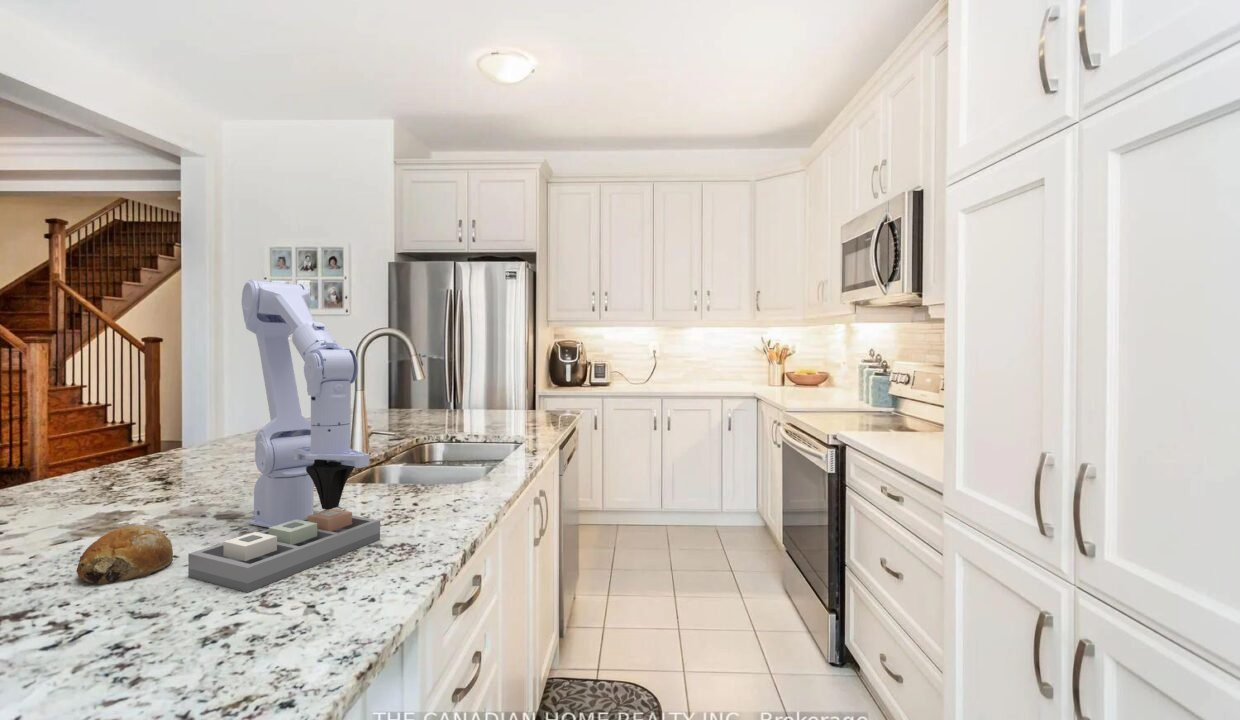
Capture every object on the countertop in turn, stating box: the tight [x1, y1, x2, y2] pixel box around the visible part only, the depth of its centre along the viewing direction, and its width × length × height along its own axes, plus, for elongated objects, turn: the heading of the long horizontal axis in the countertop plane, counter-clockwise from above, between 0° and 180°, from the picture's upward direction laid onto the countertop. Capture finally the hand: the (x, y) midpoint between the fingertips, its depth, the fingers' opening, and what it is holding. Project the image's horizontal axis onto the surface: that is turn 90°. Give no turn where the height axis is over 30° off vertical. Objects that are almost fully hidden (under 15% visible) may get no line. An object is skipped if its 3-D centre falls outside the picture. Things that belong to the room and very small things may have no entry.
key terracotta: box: [308, 508, 353, 531], centre depth 90 cm, size 4×4×2 cm
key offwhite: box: [223, 531, 277, 561], centre depth 78 cm, size 4×4×2 cm
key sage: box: [268, 519, 317, 545], centre depth 84 cm, size 4×4×2 cm
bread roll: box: [76, 524, 174, 585], centre depth 79 cm, size 10×10×8 cm
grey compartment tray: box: [187, 514, 381, 593], centre depth 84 cm, size 12×22×3 cm, turn 158°
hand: (330, 507), depth 90 cm, fingers closed
